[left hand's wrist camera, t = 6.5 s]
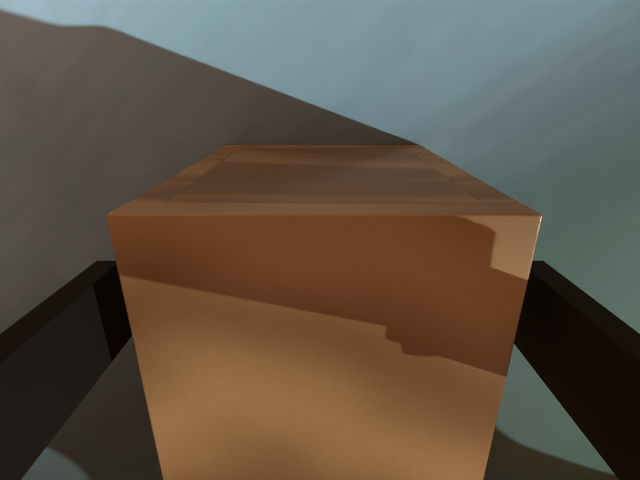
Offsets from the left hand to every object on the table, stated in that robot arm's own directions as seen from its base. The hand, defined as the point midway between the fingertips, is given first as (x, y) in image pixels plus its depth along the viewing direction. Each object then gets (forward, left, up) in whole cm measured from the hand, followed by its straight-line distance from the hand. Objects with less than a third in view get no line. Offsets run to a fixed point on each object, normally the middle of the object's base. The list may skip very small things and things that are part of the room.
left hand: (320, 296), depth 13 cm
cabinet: (+6, -2, -9) cm, 11 cm away
